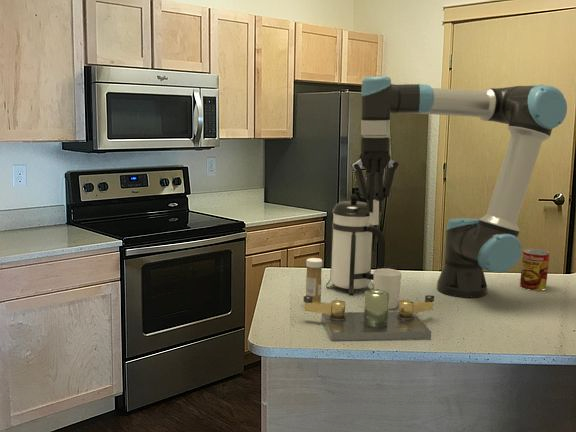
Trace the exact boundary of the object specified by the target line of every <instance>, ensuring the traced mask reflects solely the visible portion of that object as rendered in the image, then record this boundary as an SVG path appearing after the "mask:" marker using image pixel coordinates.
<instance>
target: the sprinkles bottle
mask: <svg viewBox="0 0 576 432" xmlns="http://www.w3.org/2000/svg"><path fill="white" fill-rule="evenodd" d="M305 264H306V265H305V266H306V276H305V296H312V297H313V301H316V302H321V301H322V299H321V297H322V269H323V260H322V258H319V257H318V258H316V257H310V258H307V259H306V263H305Z"/></svg>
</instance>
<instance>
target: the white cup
mask: <svg viewBox="0 0 576 432" xmlns="http://www.w3.org/2000/svg"><path fill="white" fill-rule="evenodd" d="M373 274H374V280H373V282H372V284H373V286H372V288H373V287H374V289H380V290H384V291H387V292H388V293H389V303H388V310H393V309H396V308H398V307H399V298H400V292H401V280H402V271H400V270H397V269H393V268H384V269H374V270H373Z"/></svg>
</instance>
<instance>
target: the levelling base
mask: <svg viewBox="0 0 576 432" xmlns="http://www.w3.org/2000/svg"><path fill="white" fill-rule="evenodd" d="M371 289H372V288H371ZM388 303H389V293H388V292H387V291H384V290H380V289H372V290H370V289H367V290H364V303H363V304H364V306H363V307H364V309H363V312H362V311H359V312H355V311H354V312H353V311H349V312H346V311H345V318H344V319H333V318H331V314H324V313H321V321H322V324H323V327H324V329H325V330H326V333H327V335H328V337H329V339H330V341H331V342H332V341H336V342H338V341H392V340H393V341H397V340H399V341H401V339H402V340H403V339H404V340H405V339H414V340H431V339H432V330H431V329H430V328H429V327H428V326H427V325H426V324H425V323H424V322H423V320H422V319H420V318H419V316H418V315H417V313H414V314H413V316H412V318H410V319H404V318H400V317H399V311H389V309H388ZM404 340H403V341H404Z"/></svg>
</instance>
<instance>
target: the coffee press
mask: <svg viewBox="0 0 576 432" xmlns="http://www.w3.org/2000/svg"><path fill="white" fill-rule="evenodd" d="M349 198H350V200H345V201H340V202H338V203H336V204H335V205H334V207H333V209H331V210H332V214H333V220H332V224H331V225H332V227H331V231H332V232H331V238H332V241H331V252H330V253H331V254H330V263H331V267H330V276H329V280H328V282H326V284H325V285H326V289H328V290H330V289H331V288H333V287H334V286H335V287H337V288H340V289H345V290H347V289H348V296H354V290H360V289H362V288H363V289H365V288H367V289H368V290H372V289H374V287H373V282H372V281H374V273H372V260H373V238H374V235H375V236H376V238H377V241H378V251H377V252H378V254H377V269H385V256H386V239H385V235H384V233H383V232H382V231H381V229H379V228H378V227H376V226H374V225H372V224H370V223H369V222H370V213H369V212H367V202H364V201H359V200H358V199H359V196H358V194H356V193H352V194H351V195H350V197H349ZM357 200H358V201H357ZM330 282H331V283H332V285H330V286H328V284H330ZM369 284H371V285H372V288H370V286H369Z"/></svg>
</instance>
